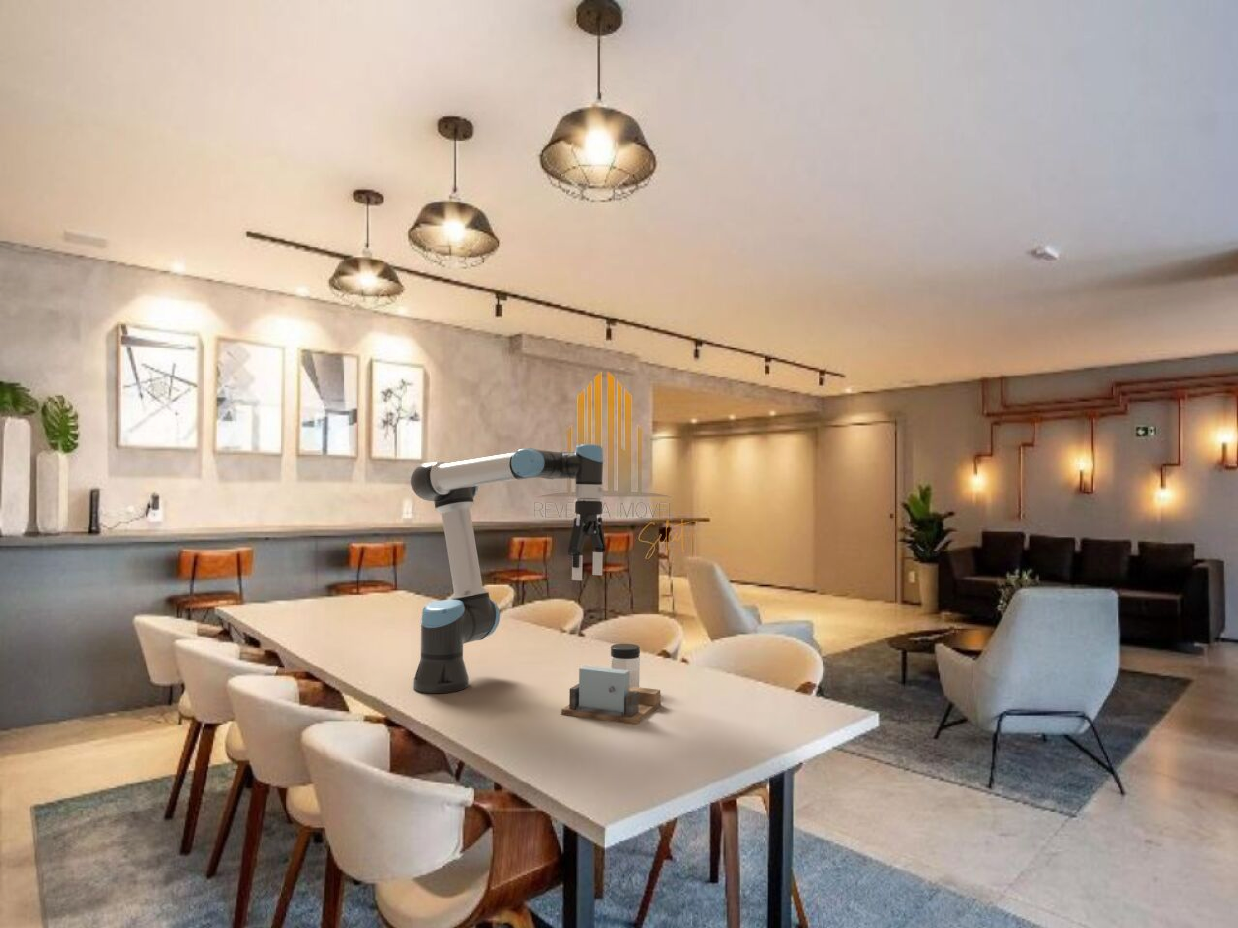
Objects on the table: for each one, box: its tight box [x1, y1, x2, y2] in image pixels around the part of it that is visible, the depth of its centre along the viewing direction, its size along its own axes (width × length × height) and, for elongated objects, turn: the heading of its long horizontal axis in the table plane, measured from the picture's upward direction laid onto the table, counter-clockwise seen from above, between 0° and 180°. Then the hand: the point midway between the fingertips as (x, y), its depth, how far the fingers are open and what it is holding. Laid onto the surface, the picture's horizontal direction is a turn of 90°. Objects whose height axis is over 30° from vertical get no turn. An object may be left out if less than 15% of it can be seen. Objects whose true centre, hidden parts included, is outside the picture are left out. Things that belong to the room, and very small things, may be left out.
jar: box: [610, 643, 641, 687], centre depth 202 cm, size 9×8×12 cm
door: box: [578, 665, 629, 715], centre depth 178 cm, size 12×4×10 cm, turn 68°
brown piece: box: [560, 683, 662, 726], centre depth 183 cm, size 20×18×6 cm
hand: (587, 577), depth 198 cm, fingers open, 13 cm apart
